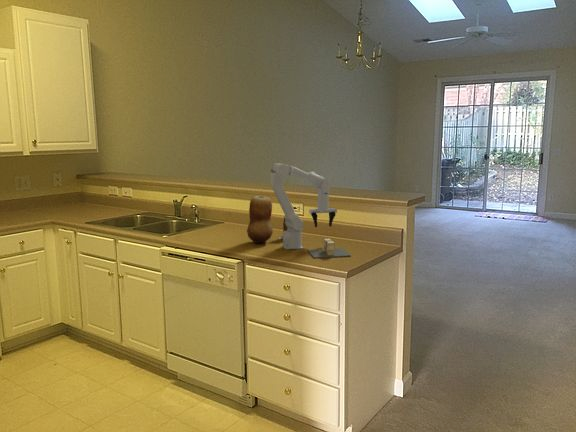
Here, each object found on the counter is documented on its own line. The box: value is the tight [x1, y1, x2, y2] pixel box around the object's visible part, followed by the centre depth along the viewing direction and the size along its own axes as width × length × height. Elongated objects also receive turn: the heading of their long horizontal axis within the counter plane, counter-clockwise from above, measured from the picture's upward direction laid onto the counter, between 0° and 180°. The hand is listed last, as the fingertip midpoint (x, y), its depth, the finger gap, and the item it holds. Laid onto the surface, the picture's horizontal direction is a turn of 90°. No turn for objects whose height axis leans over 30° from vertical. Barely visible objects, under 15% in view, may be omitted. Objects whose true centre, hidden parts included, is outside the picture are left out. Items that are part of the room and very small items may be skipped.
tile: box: [323, 238, 336, 255], centre depth 238 cm, size 9×3×6 cm, turn 10°
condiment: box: [278, 217, 288, 240], centre depth 272 cm, size 7×8×12 cm
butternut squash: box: [246, 195, 274, 244], centre depth 261 cm, size 14×13×25 cm
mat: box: [307, 247, 352, 259], centre depth 239 cm, size 18×14×1 cm
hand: (323, 226), depth 257 cm, fingers open, 7 cm apart
